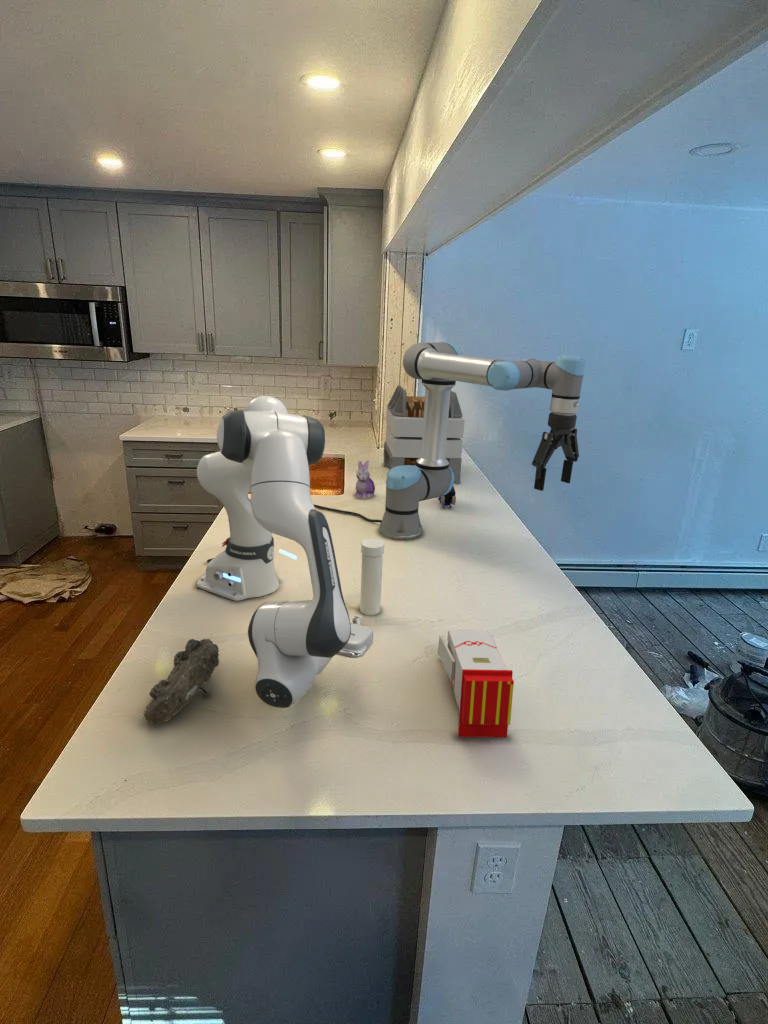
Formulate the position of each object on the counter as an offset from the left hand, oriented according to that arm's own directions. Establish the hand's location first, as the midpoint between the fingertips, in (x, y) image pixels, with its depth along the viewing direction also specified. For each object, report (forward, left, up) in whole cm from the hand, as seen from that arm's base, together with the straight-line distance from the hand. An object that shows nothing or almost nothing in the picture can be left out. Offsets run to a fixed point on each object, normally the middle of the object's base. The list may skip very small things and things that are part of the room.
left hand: (338, 615), depth 125 cm
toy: (+30, -1, -11) cm, 32 cm away
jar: (0, +23, -11) cm, 25 cm away
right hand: (+41, +65, +17) cm, 78 cm away
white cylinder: (0, +23, +8) cm, 24 cm away
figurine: (-34, +112, -11) cm, 117 cm away
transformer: (-22, +157, -11) cm, 158 cm away
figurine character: (0, +116, -11) cm, 116 cm away
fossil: (-23, -22, -11) cm, 34 cm away
